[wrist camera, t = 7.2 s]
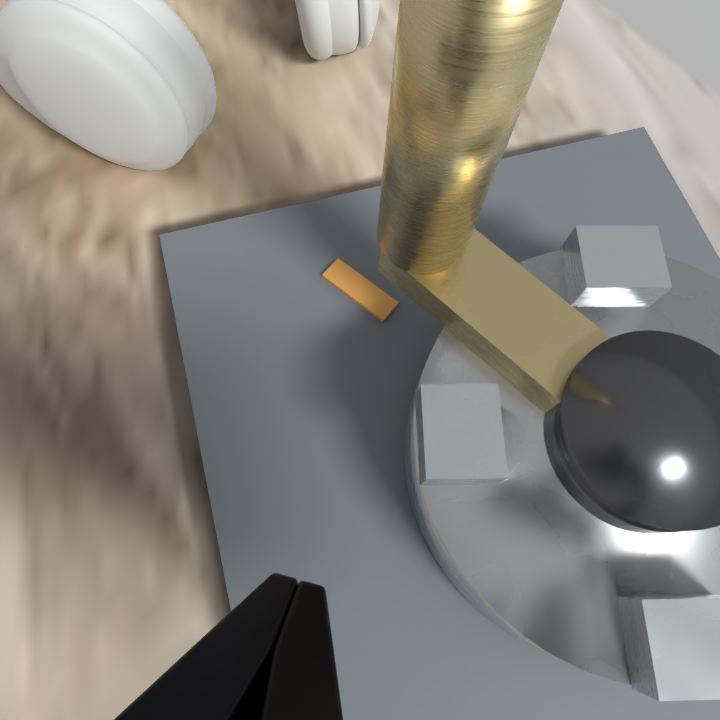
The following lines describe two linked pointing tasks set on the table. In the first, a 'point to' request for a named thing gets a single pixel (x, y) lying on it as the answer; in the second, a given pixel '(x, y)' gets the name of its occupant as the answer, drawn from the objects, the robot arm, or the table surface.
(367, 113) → the table surface
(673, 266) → the brass lever assembly
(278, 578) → the robot arm
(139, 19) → the headphones
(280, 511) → the housing plate
